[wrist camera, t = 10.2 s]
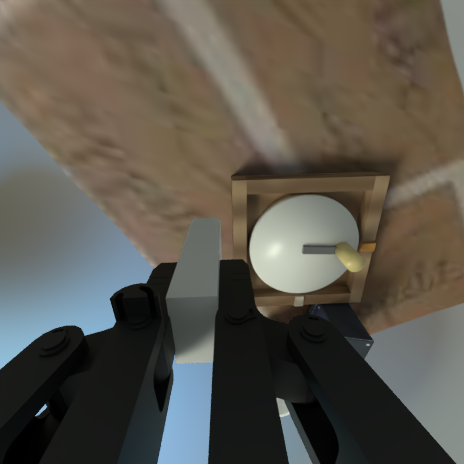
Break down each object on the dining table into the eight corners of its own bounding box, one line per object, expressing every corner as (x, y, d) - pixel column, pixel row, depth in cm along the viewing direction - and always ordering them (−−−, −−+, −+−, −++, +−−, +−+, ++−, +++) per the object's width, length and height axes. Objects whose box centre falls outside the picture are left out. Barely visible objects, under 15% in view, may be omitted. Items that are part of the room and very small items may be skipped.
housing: (231, 175, 36) (232, 181, 33) (375, 171, 37) (392, 176, 33) (234, 294, 45) (235, 309, 41) (350, 289, 45) (361, 303, 42)
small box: (312, 291, 45) (336, 336, 36) (345, 295, 46) (377, 340, 36) (297, 333, 50) (315, 382, 40) (327, 336, 50) (351, 386, 41)
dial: (246, 285, 42) (249, 311, 37) (251, 191, 36) (257, 204, 30) (340, 286, 43) (359, 311, 37) (363, 193, 36) (391, 206, 30)
